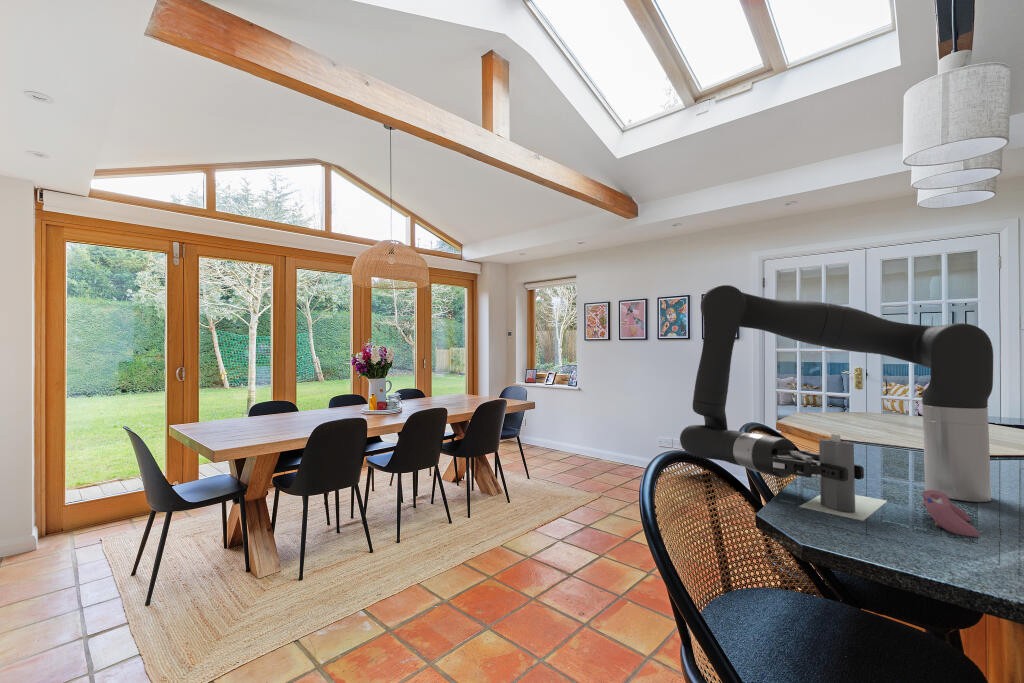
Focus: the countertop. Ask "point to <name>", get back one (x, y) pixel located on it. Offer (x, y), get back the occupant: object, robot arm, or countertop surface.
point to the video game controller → (947, 513)
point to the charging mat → (862, 511)
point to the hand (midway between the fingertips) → (854, 473)
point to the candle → (833, 490)
